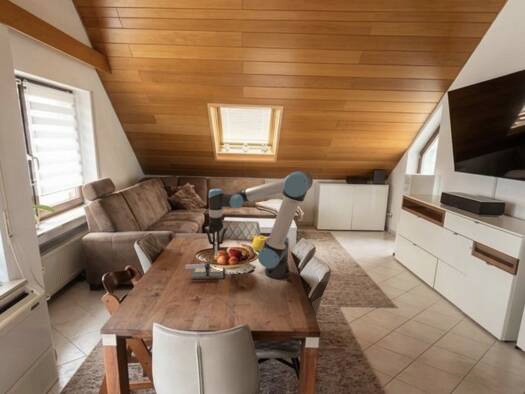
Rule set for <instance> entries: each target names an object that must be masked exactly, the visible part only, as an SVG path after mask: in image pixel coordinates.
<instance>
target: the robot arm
mask: <svg viewBox="0 0 525 394" xmlns="http://www.w3.org/2000/svg"><path fill="white" fill-rule="evenodd" d="M313 182H314V181H313V176H312V174H311V173H310V172H308V171H307V170H302V169H301V170H297V171H293V172H291V173H290V174H288V175H286V177H285V178H281V179H277V180H274V181H271V182H267V183H262V184H259V185H256V186H252V187H247V188H245V189H240V190H238V191H235V192H233V193H223V190H222V189H220V188H212V189H210V190H209V191H208V216H209V217H208V219H209V220H208V222H209V223H208V226H207V227H204V231H205V232H206V235H207V240H208V243H209V245H212V250H213V251H214V257H218V255H219V254H218V253H219V252H218V251H220V249H221V248H220V247H221V245H222V244H223V243H224V238H225V234H226V232H227V230H228V227H226V226H224V224H223V208H230V209H240V208H242V206H243V204H245V203H248V202H251V201H256V200H261V199H263V198H268V197H273V196H275V195H279V194H282V196H283V198H282V201H281V204H280V207H279V209H278V212H277V215H276V217H275V220H274V223H273V226H272V229H271V230H270V231H271V232H270V234H269V236H268V237H266V239H265V242H264V245H263V247H262V249H261V250H260V251H258V254H257V260H258V262H259V263H260V264H261V265H260V266H262V267H264V274H265V276H266V277H268V278H272V279H277V280H279V279H287V278H288V277H290V276H291V268H290V263H289V244H290V242H289V241H290V240H289V237H288V234H289V231H290V229H291V226H292V223H293V221H294V218H295V215H296V213H297V210H298V208H299V205H300V203H303V202H304V201H305V198H306V196H307V193H308V191H309V190H310V189H312V186H313ZM221 230H222V234H221V238H220V232H221ZM210 231H211V232H212V233H210ZM211 234H212V237H211ZM216 241H217V242H216Z"/></svg>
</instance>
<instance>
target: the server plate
mask: <svg viewBox="0 0 525 394" xmlns="http://www.w3.org/2000/svg"><path fill="white" fill-rule="evenodd" d="M211 266H212V265H210V268H196V269H192V271H191V274H190V280H207V279H208V280H210V279H214V280H215V279H216V280H217V279H218V280H219V279H220V280H221V279H224V274H223V271H220V270H216V269H214V268H212V267H211Z"/></svg>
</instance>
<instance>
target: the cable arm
mask: <svg viewBox="0 0 525 394" xmlns="http://www.w3.org/2000/svg"><path fill="white" fill-rule="evenodd" d="M210 266H211V264H210V262H205V263H191V264H187V263H186V264H185V268H184V269H185V270H188V269H189V270H193V269H196V268H210Z"/></svg>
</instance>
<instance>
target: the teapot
mask: <svg viewBox="0 0 525 394" xmlns="http://www.w3.org/2000/svg"><path fill="white" fill-rule="evenodd" d="M266 238H267V237H266V236H264V235H258V236H257V235H253V241H252V244H251V245H252V248H253V250H254V251H255V252H259V251H260V250H261V249H262V247H263V245H264V242H265V239H266Z"/></svg>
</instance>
